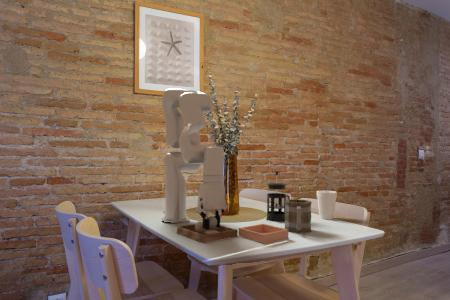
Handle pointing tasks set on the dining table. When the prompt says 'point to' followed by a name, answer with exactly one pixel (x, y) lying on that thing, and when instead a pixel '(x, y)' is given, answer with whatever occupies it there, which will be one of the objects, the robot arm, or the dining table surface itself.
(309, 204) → the mug
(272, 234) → the terracotta dish
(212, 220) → the grey ball
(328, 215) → the foam cup
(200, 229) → the beige ball
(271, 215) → the french press
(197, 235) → the walnut tray
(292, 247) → the dining table surface
